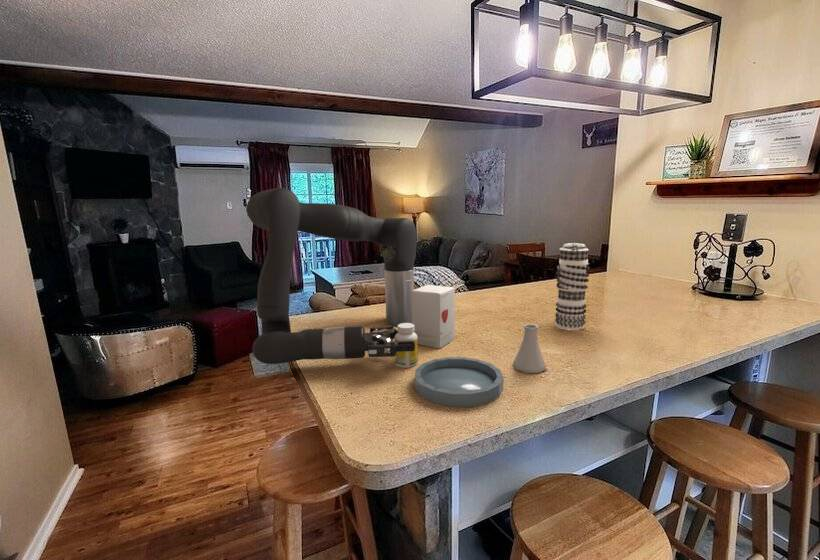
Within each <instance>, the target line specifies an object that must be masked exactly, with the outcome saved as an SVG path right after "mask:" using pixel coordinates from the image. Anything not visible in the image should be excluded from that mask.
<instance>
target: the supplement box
mask: <svg viewBox="0 0 820 560" xmlns="http://www.w3.org/2000/svg"><path fill="white" fill-rule="evenodd" d="M455 289H456V288H455V287H451V286H443V285H436V284H435V285H433V284H426V285H423V286H420V287H418V288H414V290H412V324H414V327H415V330H414V333H416V335H417V345H421V346H425V347H431V348H436V349H439V350H440V349H441V348H443V347H444V346H446V345H447V344H449V343H451V342H453V341H454V340H455V332H456V331H455V327H456V326H455V321H456V320H455V318H456V317H455V312H456V311H455V308H456V307H455V306H456V305H455V304H456V303H455V301H456V300H455V296H456V295H455V293H456V290H455Z"/></svg>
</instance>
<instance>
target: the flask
mask: <svg viewBox="0 0 820 560" xmlns="http://www.w3.org/2000/svg"><path fill="white" fill-rule="evenodd" d="M522 327H523V329H524V330H523V331H524V332H523V333H524V334H523V336H522V337H523V339H522V342H521V344H520V347H519V348H518V351H517V353H516V356H515V357H514V360H513V362H512V365H513V367H514V369H515V370H518V371H520V372H523V373H524V374H539V373H542V372H543V371H544V372H545V371H546V370H547V365H546V363H545V361H544V357H543V355H542V351H541V349H540V348H541V347H540V344H539V341H538V330H539V328H540V327H539V326H538V325H537V324H534V323H526V324H523V325H522Z"/></svg>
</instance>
